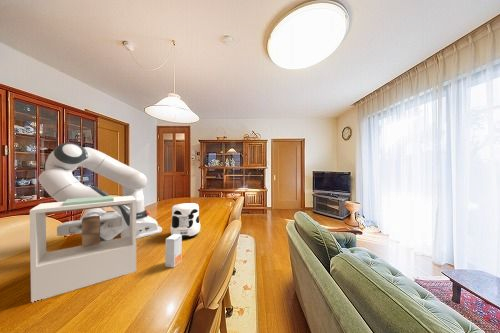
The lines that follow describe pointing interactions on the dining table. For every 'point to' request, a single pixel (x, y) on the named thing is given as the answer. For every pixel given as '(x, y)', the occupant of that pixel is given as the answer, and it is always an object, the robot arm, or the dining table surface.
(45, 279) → the box
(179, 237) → the skincare box
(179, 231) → the milk container
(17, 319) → the dining table surface
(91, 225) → the walnut block
